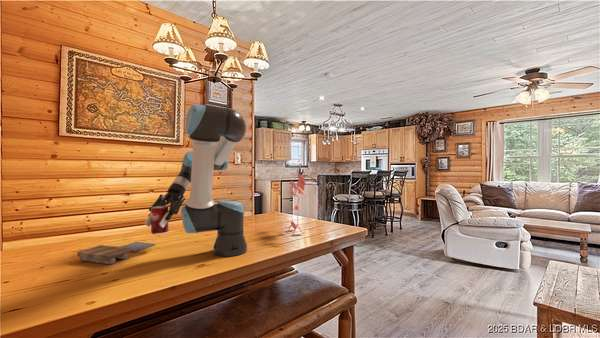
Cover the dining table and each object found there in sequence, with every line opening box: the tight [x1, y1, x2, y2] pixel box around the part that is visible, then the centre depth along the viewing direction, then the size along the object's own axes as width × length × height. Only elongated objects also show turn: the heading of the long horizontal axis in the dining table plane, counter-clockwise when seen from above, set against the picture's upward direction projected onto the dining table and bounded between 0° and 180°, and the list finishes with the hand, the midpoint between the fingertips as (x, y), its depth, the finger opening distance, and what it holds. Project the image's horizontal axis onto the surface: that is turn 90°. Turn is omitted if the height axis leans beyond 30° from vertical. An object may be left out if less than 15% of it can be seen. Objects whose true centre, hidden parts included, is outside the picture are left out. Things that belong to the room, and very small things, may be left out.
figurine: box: [287, 173, 307, 235], centre depth 161 cm, size 15×26×35 cm, turn 19°
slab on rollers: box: [76, 244, 131, 265], centre depth 112 cm, size 16×10×4 cm, turn 75°
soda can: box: [150, 205, 170, 235], centre depth 125 cm, size 7×7×12 cm
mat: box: [120, 241, 157, 253], centre depth 129 cm, size 12×12×1 cm
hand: (154, 225), depth 122 cm, fingers closed on soda can, 7 cm apart
